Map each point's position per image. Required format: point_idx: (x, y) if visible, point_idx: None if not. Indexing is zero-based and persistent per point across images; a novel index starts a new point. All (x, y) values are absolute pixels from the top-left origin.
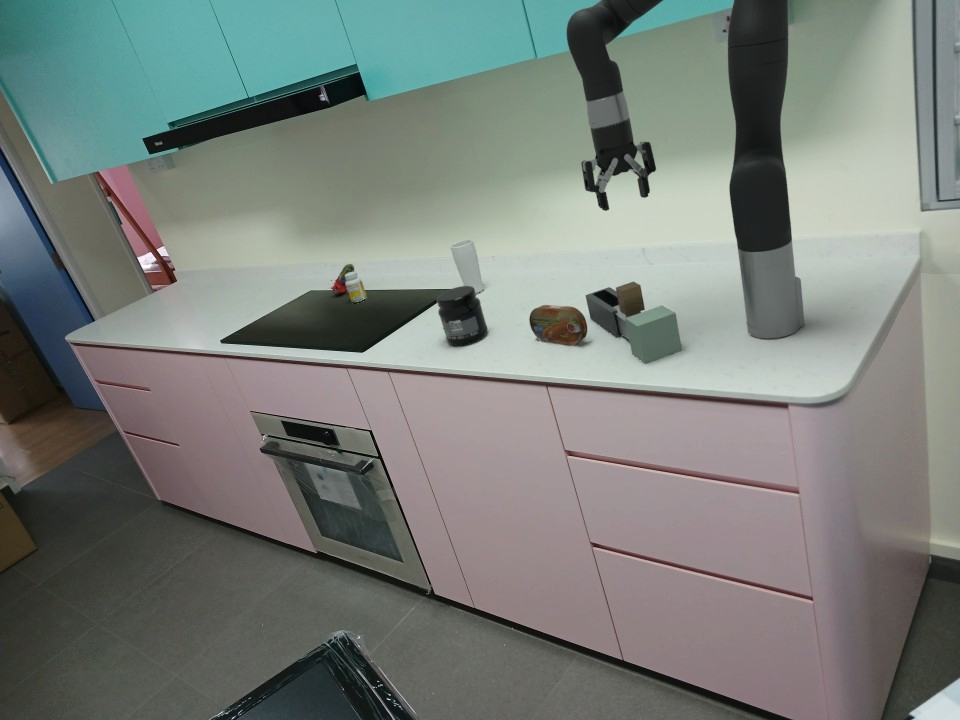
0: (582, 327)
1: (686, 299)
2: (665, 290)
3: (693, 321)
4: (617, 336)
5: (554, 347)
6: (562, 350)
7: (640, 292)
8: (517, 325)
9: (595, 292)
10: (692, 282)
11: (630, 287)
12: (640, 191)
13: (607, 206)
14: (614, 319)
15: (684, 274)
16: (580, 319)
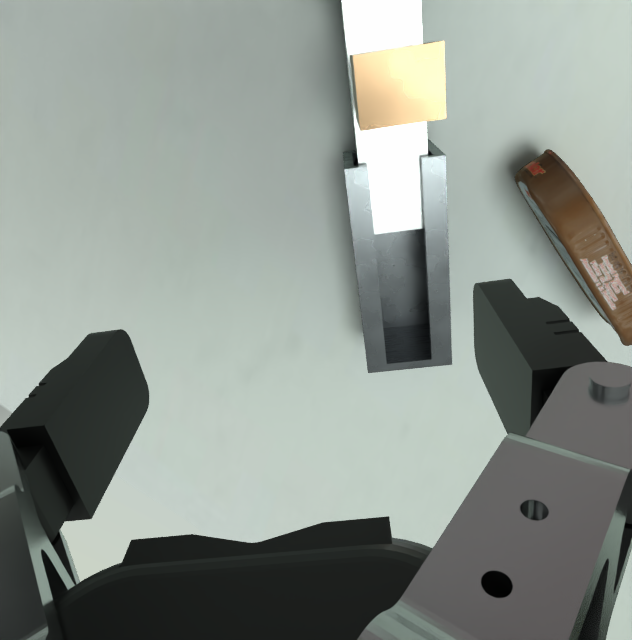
0: (545, 157)
1: (171, 269)
2: (204, 365)
3: (195, 96)
4: None
5: (602, 203)
6: (594, 164)
7: (357, 54)
8: None
9: (418, 362)
10: None
11: (397, 61)
12: (131, 415)
13: (497, 289)
14: (432, 151)
15: None
16: (552, 174)
